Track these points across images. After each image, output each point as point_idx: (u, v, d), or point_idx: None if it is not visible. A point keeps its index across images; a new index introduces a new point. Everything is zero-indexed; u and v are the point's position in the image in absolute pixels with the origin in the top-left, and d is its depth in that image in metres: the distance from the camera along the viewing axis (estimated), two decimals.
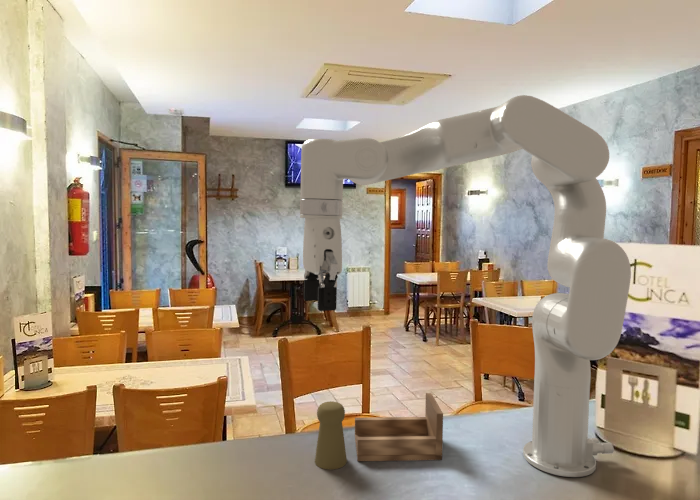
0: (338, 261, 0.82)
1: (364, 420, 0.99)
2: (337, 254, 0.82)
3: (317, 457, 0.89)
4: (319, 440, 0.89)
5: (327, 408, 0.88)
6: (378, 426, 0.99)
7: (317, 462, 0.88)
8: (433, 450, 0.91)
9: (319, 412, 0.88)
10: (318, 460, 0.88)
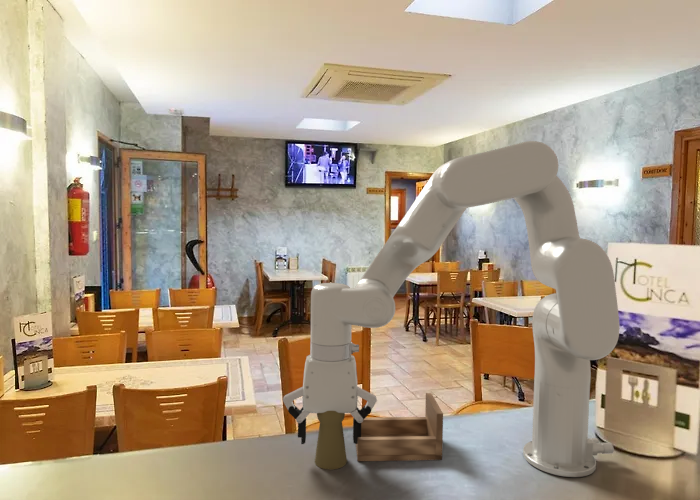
0: None
1: (364, 420, 0.99)
2: None
3: (317, 457, 0.89)
4: (319, 440, 0.89)
5: None
6: (378, 426, 0.99)
7: (317, 462, 0.88)
8: (433, 450, 0.91)
9: None
10: (318, 460, 0.88)
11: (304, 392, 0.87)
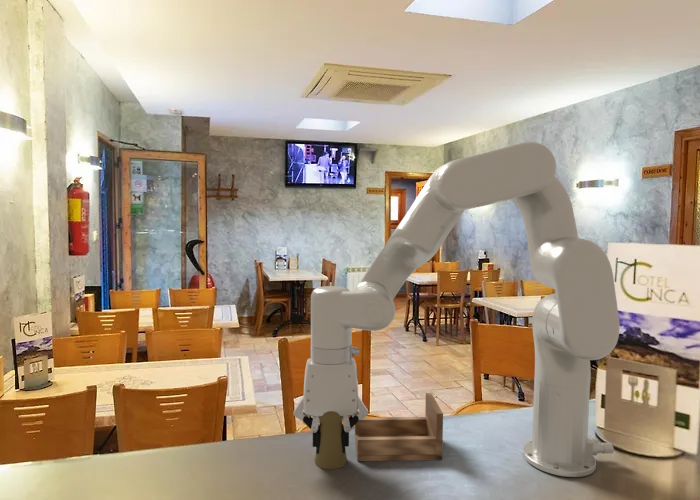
0: None
1: (364, 420, 0.99)
2: None
3: (317, 457, 0.89)
4: None
5: None
6: (378, 426, 0.99)
7: (317, 462, 0.89)
8: (433, 450, 0.91)
9: None
10: (318, 460, 0.88)
11: (305, 395, 0.87)
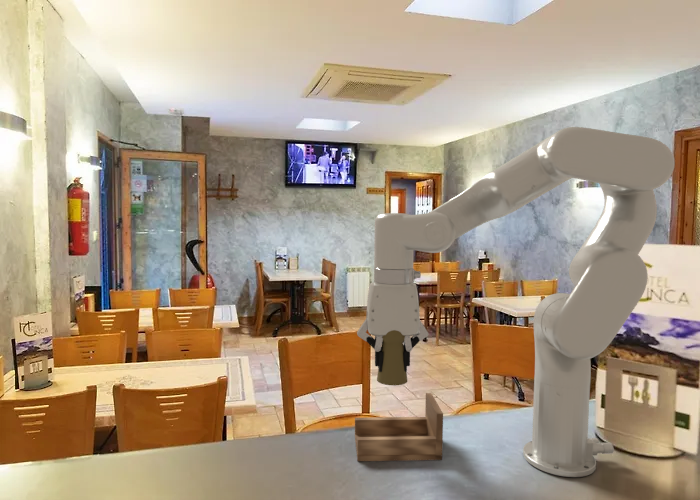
0: None
1: (364, 420, 0.99)
2: None
3: (380, 375, 0.93)
4: None
5: None
6: (378, 426, 0.99)
7: (380, 379, 0.93)
8: (433, 450, 0.91)
9: None
10: (381, 377, 0.93)
11: (369, 315, 0.92)
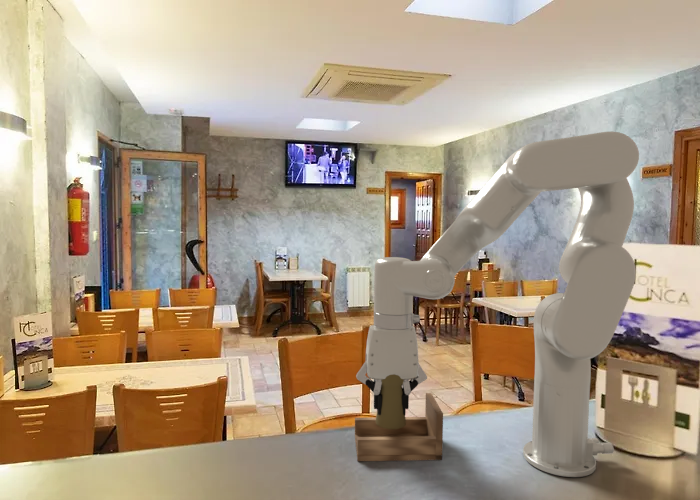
0: None
1: (364, 420, 0.99)
2: None
3: (379, 418, 0.94)
4: None
5: None
6: (378, 426, 0.99)
7: (379, 422, 0.94)
8: (433, 450, 0.91)
9: None
10: (380, 421, 0.93)
11: (369, 359, 0.92)
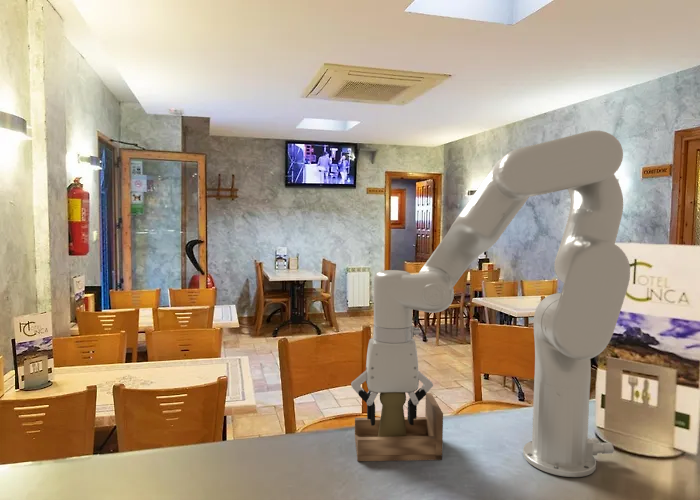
0: None
1: (364, 420, 0.99)
2: None
3: None
4: (382, 422, 0.94)
5: None
6: (378, 426, 0.99)
7: None
8: (433, 450, 0.91)
9: (382, 396, 0.93)
10: None
11: (369, 373, 0.92)
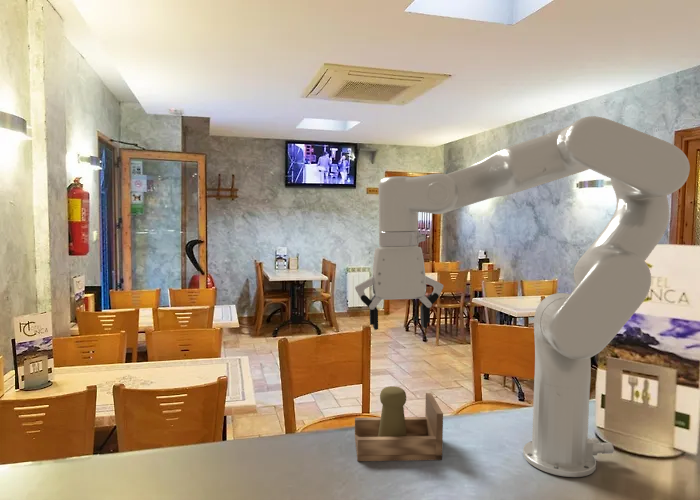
0: None
1: (364, 420, 0.99)
2: None
3: None
4: (382, 422, 0.94)
5: (391, 392, 0.93)
6: (378, 426, 0.99)
7: None
8: (433, 450, 0.91)
9: (383, 396, 0.94)
10: None
11: (376, 279, 0.92)
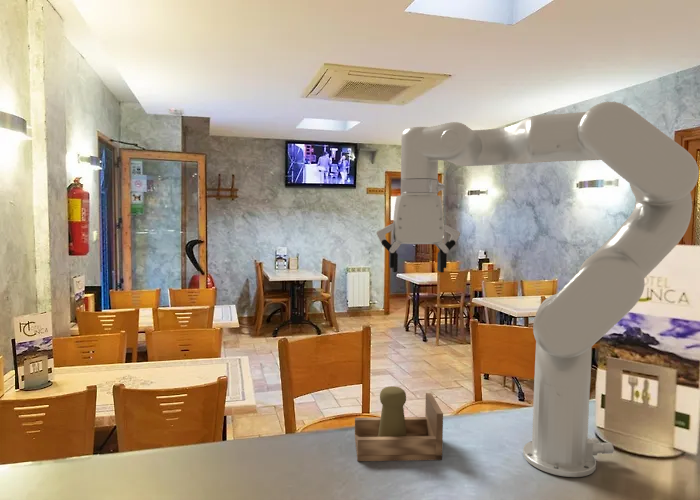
0: None
1: (364, 420, 0.99)
2: None
3: None
4: (382, 422, 0.94)
5: (391, 392, 0.93)
6: (378, 426, 0.99)
7: None
8: (433, 450, 0.91)
9: (383, 396, 0.93)
10: None
11: (397, 224, 0.98)
